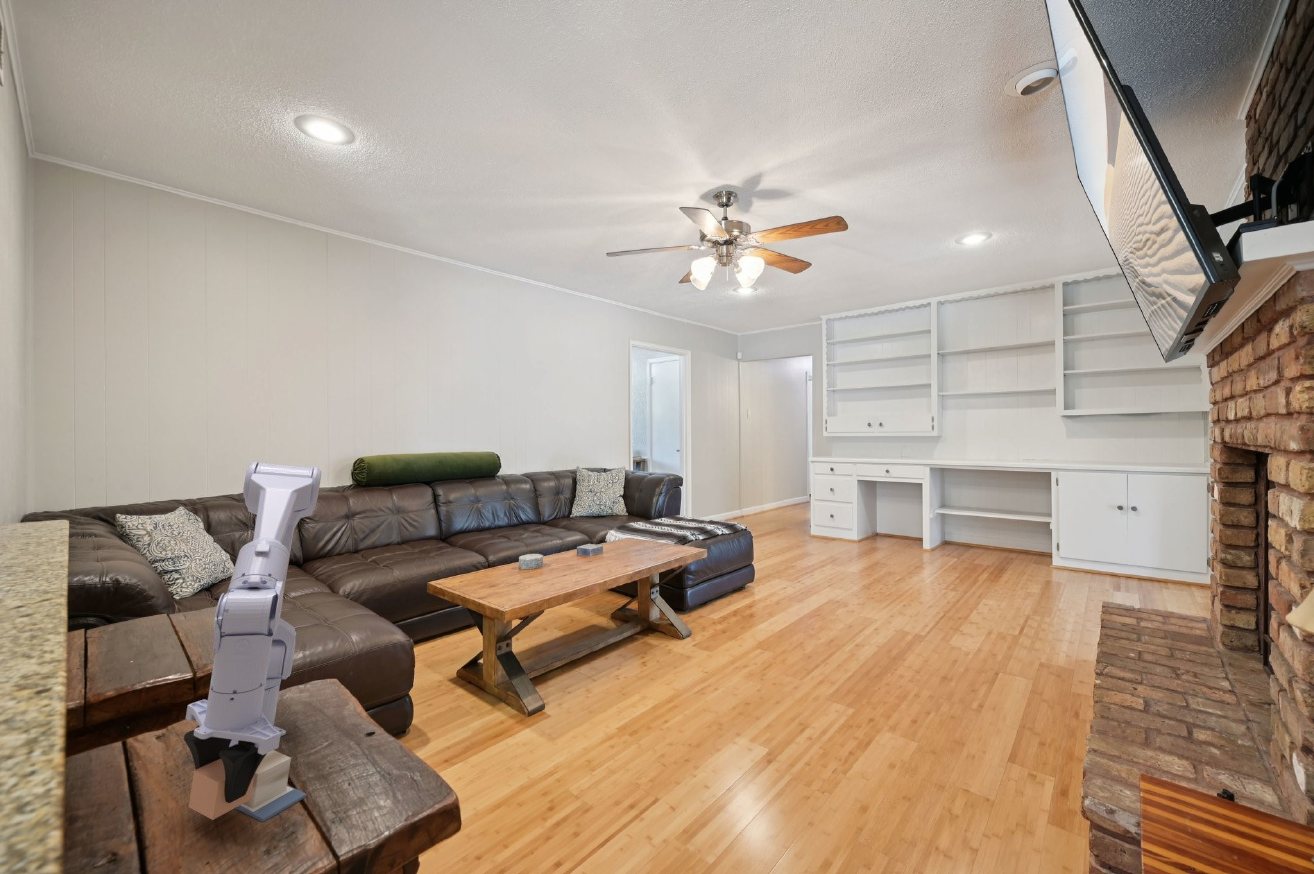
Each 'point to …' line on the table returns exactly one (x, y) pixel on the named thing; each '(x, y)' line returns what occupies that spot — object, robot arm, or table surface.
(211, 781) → the terracotta block
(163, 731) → the table surface
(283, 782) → the cream block
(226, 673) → the robot arm
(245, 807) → the blue flat board
